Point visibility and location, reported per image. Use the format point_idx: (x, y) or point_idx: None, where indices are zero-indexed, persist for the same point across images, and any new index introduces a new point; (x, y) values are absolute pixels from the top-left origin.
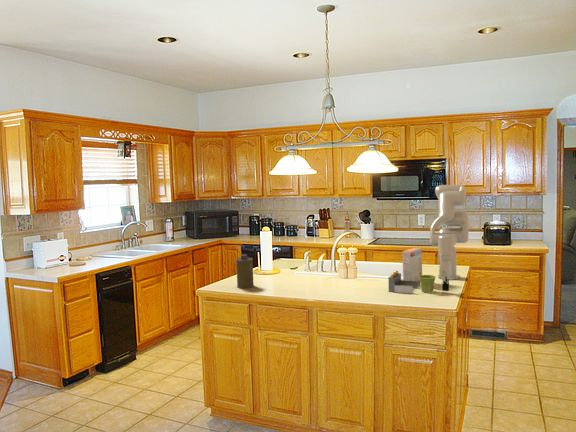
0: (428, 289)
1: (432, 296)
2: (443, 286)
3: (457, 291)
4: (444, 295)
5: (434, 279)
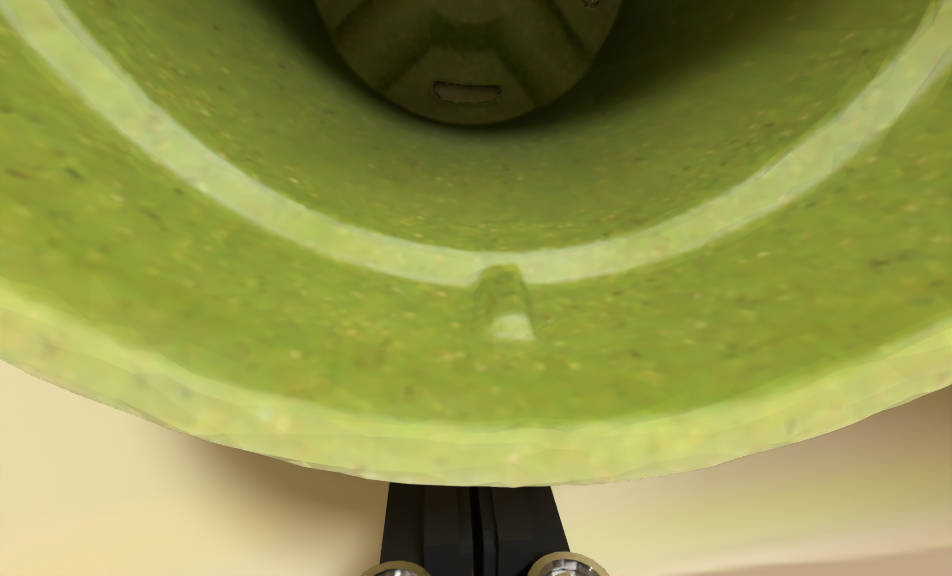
0: (278, 10)
1: None
2: (424, 495)
3: (672, 561)
4: None
5: (404, 321)
